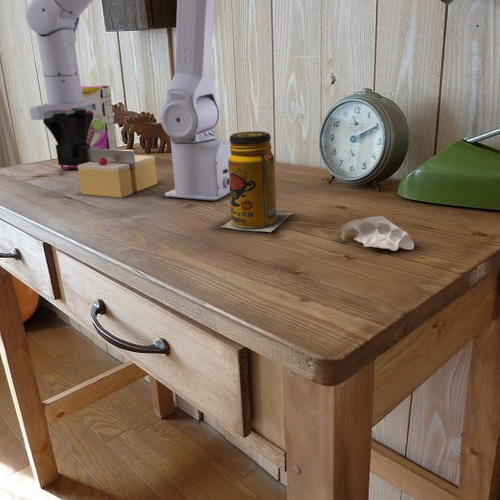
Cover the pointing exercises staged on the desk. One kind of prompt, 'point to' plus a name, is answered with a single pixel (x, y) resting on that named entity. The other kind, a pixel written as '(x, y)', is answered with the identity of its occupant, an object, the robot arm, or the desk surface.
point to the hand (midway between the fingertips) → (74, 156)
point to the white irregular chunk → (378, 233)
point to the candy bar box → (99, 120)
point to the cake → (143, 172)
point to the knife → (97, 156)
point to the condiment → (252, 183)
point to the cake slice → (105, 178)
